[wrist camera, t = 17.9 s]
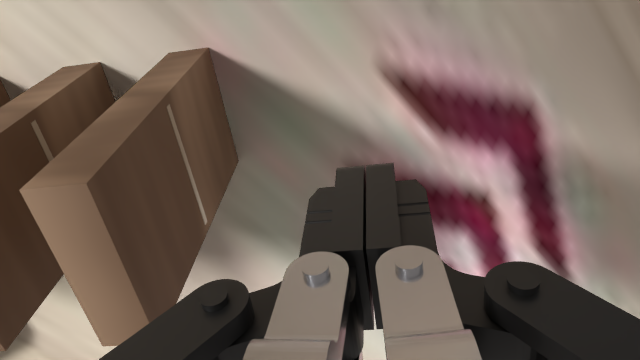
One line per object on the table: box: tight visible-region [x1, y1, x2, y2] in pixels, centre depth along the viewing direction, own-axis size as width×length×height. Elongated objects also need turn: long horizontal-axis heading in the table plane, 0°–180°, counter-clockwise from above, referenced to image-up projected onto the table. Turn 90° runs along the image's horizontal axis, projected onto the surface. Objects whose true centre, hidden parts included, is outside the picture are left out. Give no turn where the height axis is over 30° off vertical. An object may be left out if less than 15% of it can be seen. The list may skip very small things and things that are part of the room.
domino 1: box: [0, 62, 115, 351], centre depth 17 cm, size 2×5×10 cm, turn 9°
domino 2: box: [19, 48, 238, 346], centre depth 16 cm, size 2×5×10 cm, turn 8°
